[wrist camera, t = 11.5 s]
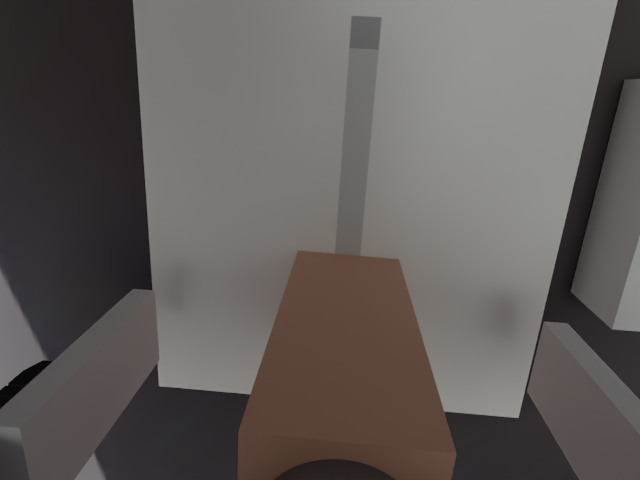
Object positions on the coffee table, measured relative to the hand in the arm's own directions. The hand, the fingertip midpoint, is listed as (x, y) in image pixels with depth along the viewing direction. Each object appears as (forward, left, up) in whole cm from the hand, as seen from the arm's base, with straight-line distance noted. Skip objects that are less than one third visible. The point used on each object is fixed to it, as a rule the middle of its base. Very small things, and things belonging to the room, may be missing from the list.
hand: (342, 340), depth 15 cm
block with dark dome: (0, 0, -3) cm, 3 cm away
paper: (-5, 0, -4) cm, 6 cm away
